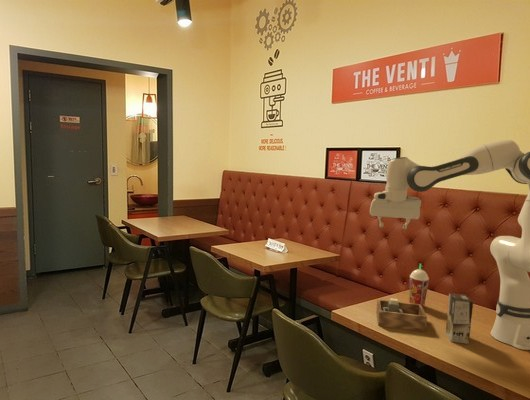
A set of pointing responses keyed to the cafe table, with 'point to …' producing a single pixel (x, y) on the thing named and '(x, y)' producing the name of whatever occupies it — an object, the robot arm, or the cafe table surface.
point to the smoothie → (418, 286)
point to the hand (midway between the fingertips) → (392, 227)
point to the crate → (402, 316)
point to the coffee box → (459, 318)
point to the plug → (393, 305)
